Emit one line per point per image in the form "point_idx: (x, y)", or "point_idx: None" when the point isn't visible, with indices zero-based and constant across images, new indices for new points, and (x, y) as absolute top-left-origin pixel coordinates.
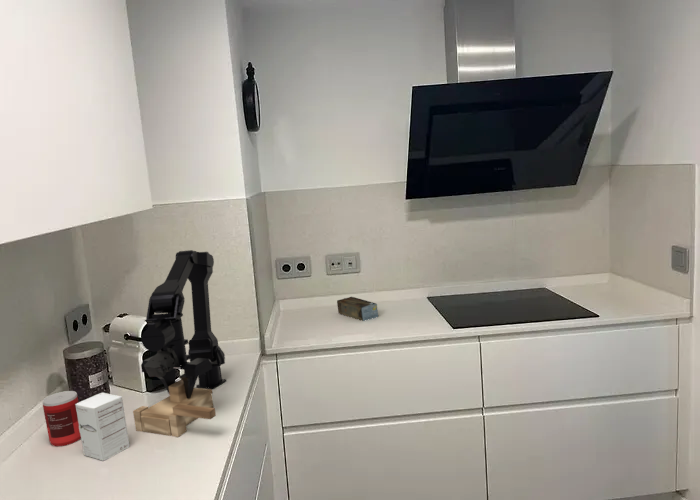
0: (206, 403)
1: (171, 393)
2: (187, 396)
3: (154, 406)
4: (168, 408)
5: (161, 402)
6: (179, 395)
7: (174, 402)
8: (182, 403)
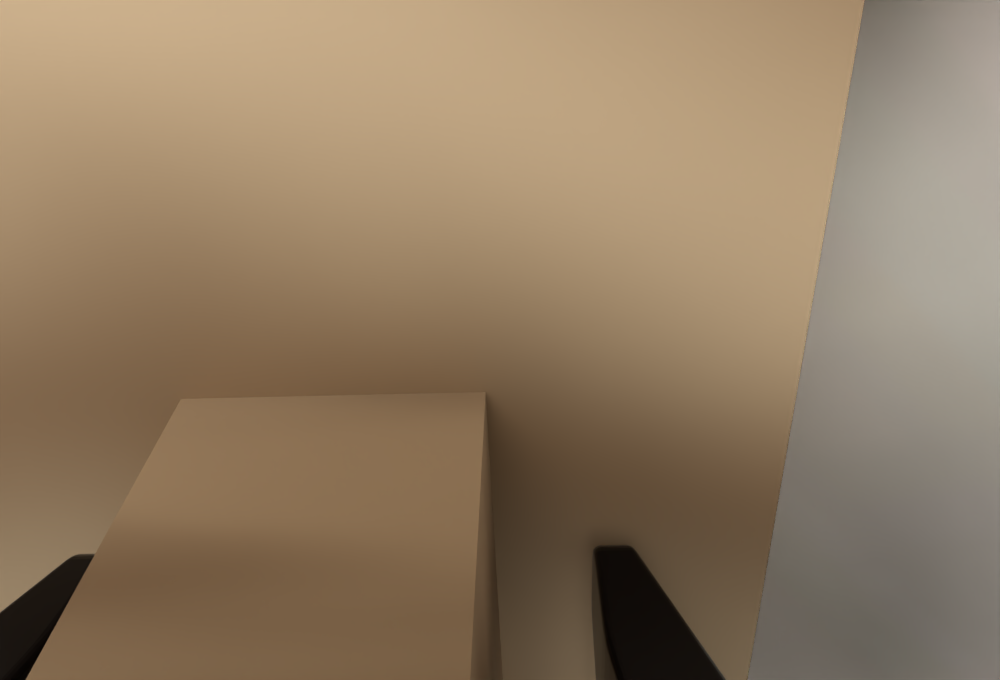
0: None
1: (383, 562)
2: (38, 592)
3: (729, 3)
4: (96, 3)
5: (704, 290)
6: (117, 549)
7: (315, 368)
8: (50, 374)
